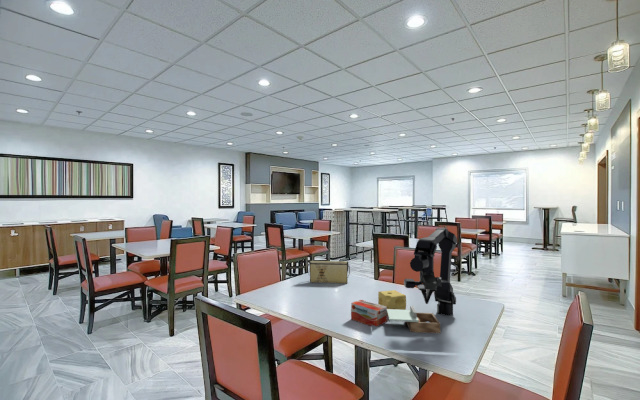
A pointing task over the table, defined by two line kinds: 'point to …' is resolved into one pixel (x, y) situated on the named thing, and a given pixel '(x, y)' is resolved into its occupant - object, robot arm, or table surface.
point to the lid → (403, 315)
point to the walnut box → (425, 324)
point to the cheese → (392, 300)
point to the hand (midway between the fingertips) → (426, 303)
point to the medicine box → (368, 313)
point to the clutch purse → (328, 271)
